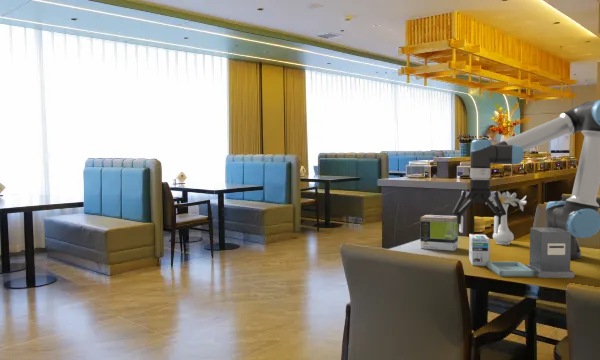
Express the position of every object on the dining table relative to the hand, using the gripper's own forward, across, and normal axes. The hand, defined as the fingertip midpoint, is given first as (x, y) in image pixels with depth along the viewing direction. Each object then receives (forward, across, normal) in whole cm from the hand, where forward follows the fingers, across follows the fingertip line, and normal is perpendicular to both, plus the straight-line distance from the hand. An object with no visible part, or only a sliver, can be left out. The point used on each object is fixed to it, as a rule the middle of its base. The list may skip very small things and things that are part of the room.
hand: (478, 232), depth 202 cm
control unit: (+12, +20, -17) cm, 29 cm away
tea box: (+12, -8, +30) cm, 34 cm away
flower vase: (+12, +24, +41) cm, 49 cm away
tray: (+12, +8, -14) cm, 20 cm away
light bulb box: (+12, 0, 0) cm, 12 cm away
